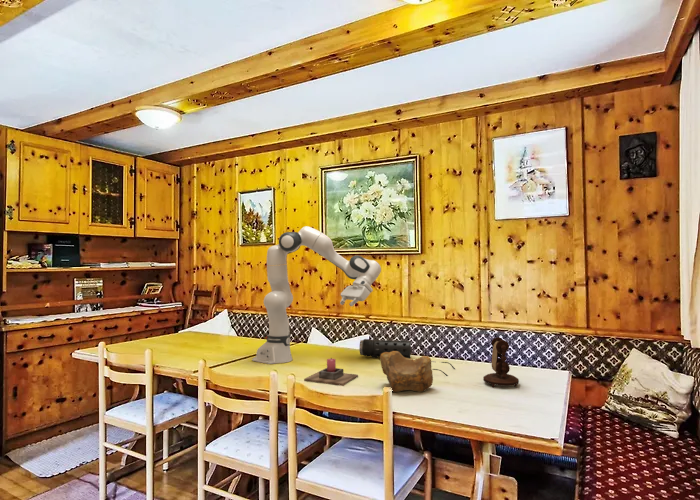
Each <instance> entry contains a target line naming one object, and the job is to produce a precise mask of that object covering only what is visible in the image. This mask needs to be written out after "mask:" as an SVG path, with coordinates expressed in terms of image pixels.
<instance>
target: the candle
mask: <svg viewBox="0 0 700 500" xmlns="http://www.w3.org/2000/svg"><path fill="white" fill-rule="evenodd" d="M336 364H337V363H336V358H332V357H330V358H327V359H326V368H327V372H334V373H335V372H336V367H337V365H336Z"/></svg>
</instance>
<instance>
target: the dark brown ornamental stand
mask: <svg viewBox="0 0 700 500" xmlns="http://www.w3.org/2000/svg"><path fill="white" fill-rule="evenodd" d="M491 347H492V351H491V369H492V370H493V371H494V372H493V373H487V374H485V375H483V379H482V380H483V381H484V383H487V384H490V385H491V387H492V388H495V386H502V387H503V386H504V387H509V386H510V387H511V386H514V388H517V386H518V384H519V383H520V379H519V378H518V377H516V376H514V375H512V374H509V372H510V370H511V369H510V365H509V363H508V362H507V356H506V355H507V354H506V353H507V352H508V351H509V349H510V344H509V342H508V341H507V340H504V339H503V338H501V337H499V336H496V337H494V338H493V339H492V341H491Z"/></svg>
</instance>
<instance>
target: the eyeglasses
mask: <svg viewBox="0 0 700 500" xmlns="http://www.w3.org/2000/svg"><path fill="white" fill-rule="evenodd" d="M431 363H435V361H433V360H431ZM440 363H443V364H448V365H450V367H452V369H453V370H456V368H455V367H454V366H453V365H452V364H451V363H449V362H447V361H440ZM431 370H432V371H440V372H441V373H442V374H444V375H445V376H447V377H448V376H449V375H448V374H447V373H445V372H444V371H442V370H441V369H437V368H431Z"/></svg>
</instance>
